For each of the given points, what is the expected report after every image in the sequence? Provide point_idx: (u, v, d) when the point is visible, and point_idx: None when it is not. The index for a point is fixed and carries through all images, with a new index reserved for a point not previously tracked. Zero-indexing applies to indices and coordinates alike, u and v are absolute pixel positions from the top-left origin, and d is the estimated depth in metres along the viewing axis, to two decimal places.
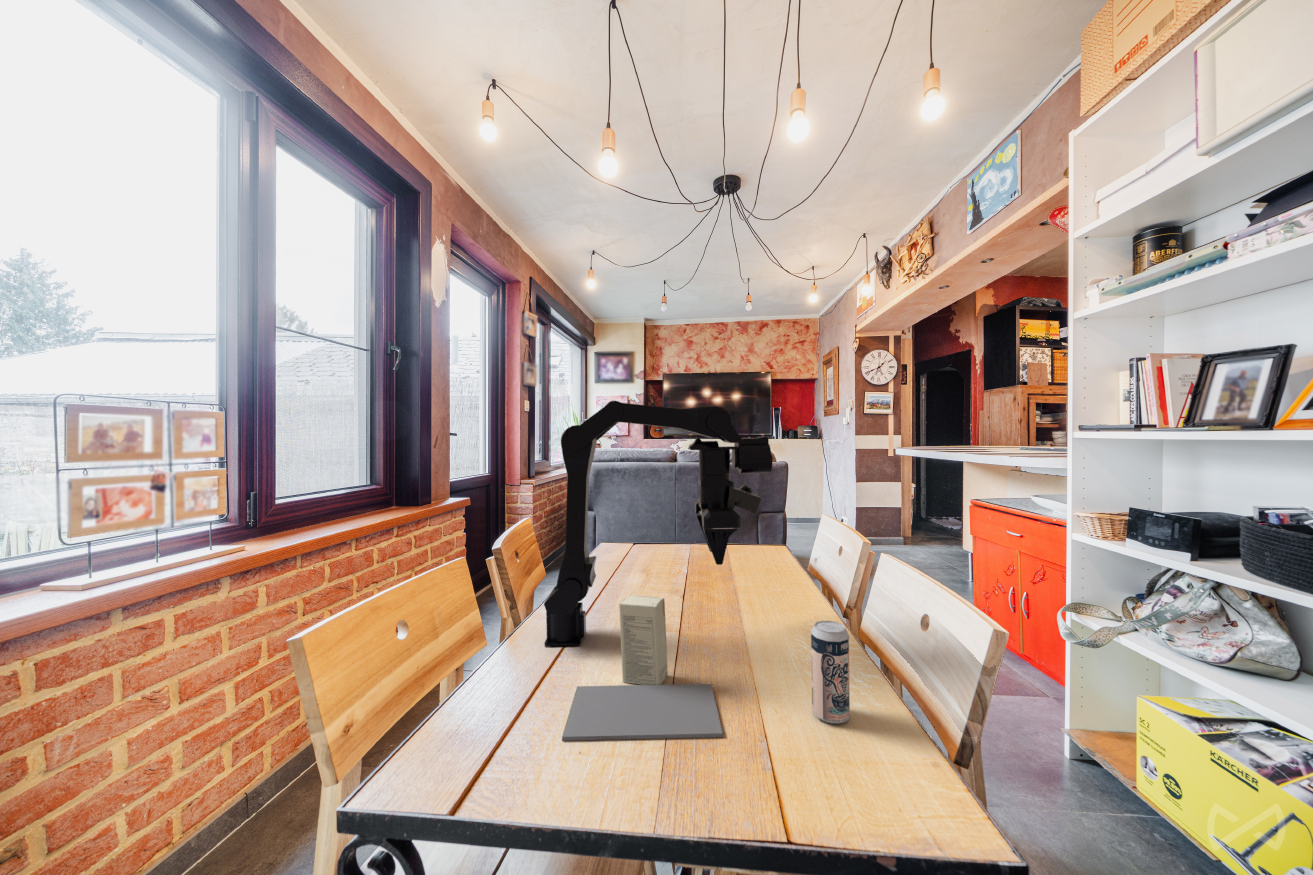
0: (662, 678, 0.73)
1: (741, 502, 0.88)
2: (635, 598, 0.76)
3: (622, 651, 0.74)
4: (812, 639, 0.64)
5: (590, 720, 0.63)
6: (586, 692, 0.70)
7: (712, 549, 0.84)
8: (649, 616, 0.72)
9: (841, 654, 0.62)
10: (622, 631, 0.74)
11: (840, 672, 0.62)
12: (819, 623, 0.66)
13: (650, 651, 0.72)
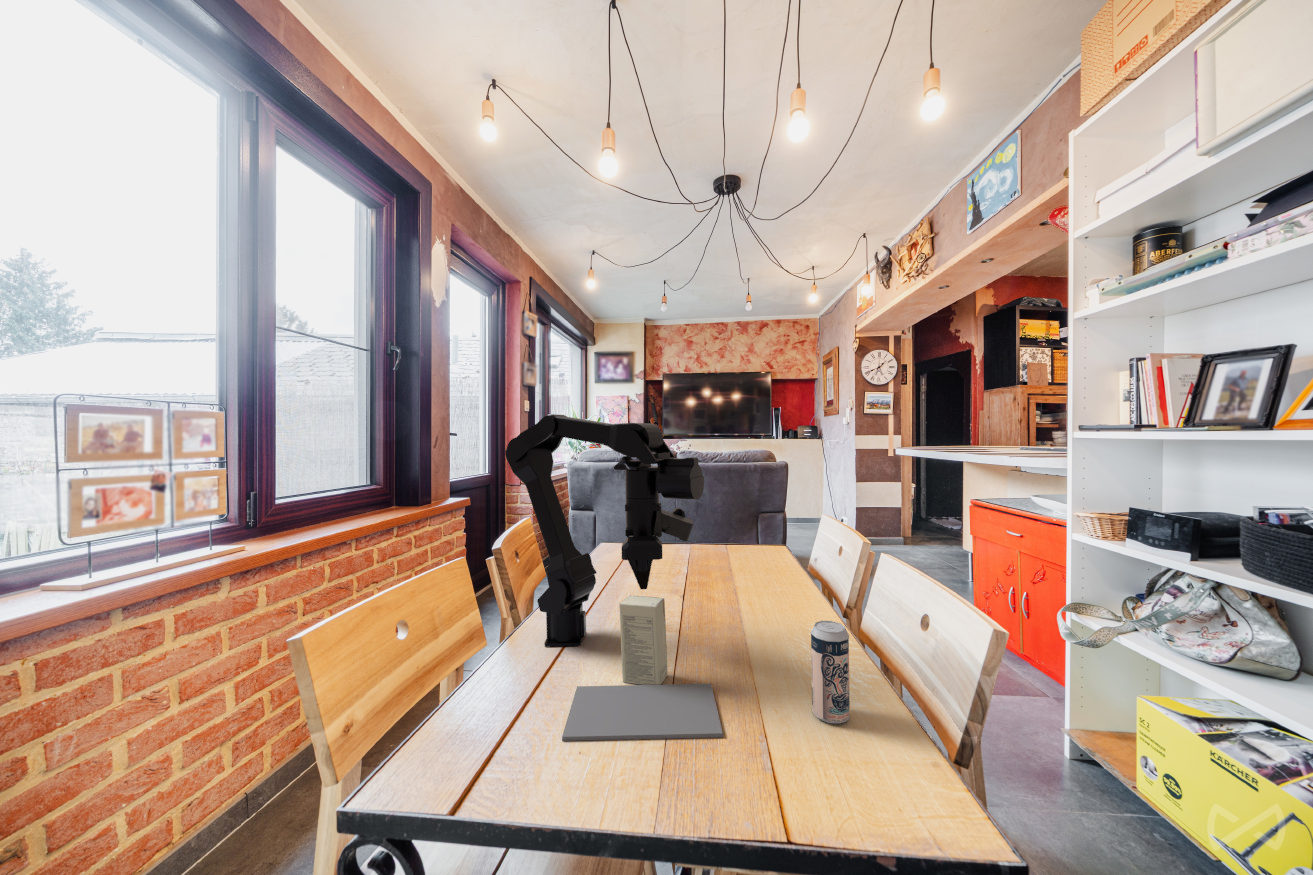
0: (662, 678, 0.73)
1: (669, 528, 0.80)
2: (635, 598, 0.76)
3: (622, 651, 0.74)
4: (812, 639, 0.64)
5: (590, 720, 0.63)
6: (586, 692, 0.70)
7: (635, 573, 0.81)
8: (649, 616, 0.72)
9: (841, 654, 0.62)
10: (622, 631, 0.74)
11: (840, 672, 0.62)
12: (819, 623, 0.66)
13: (650, 651, 0.72)
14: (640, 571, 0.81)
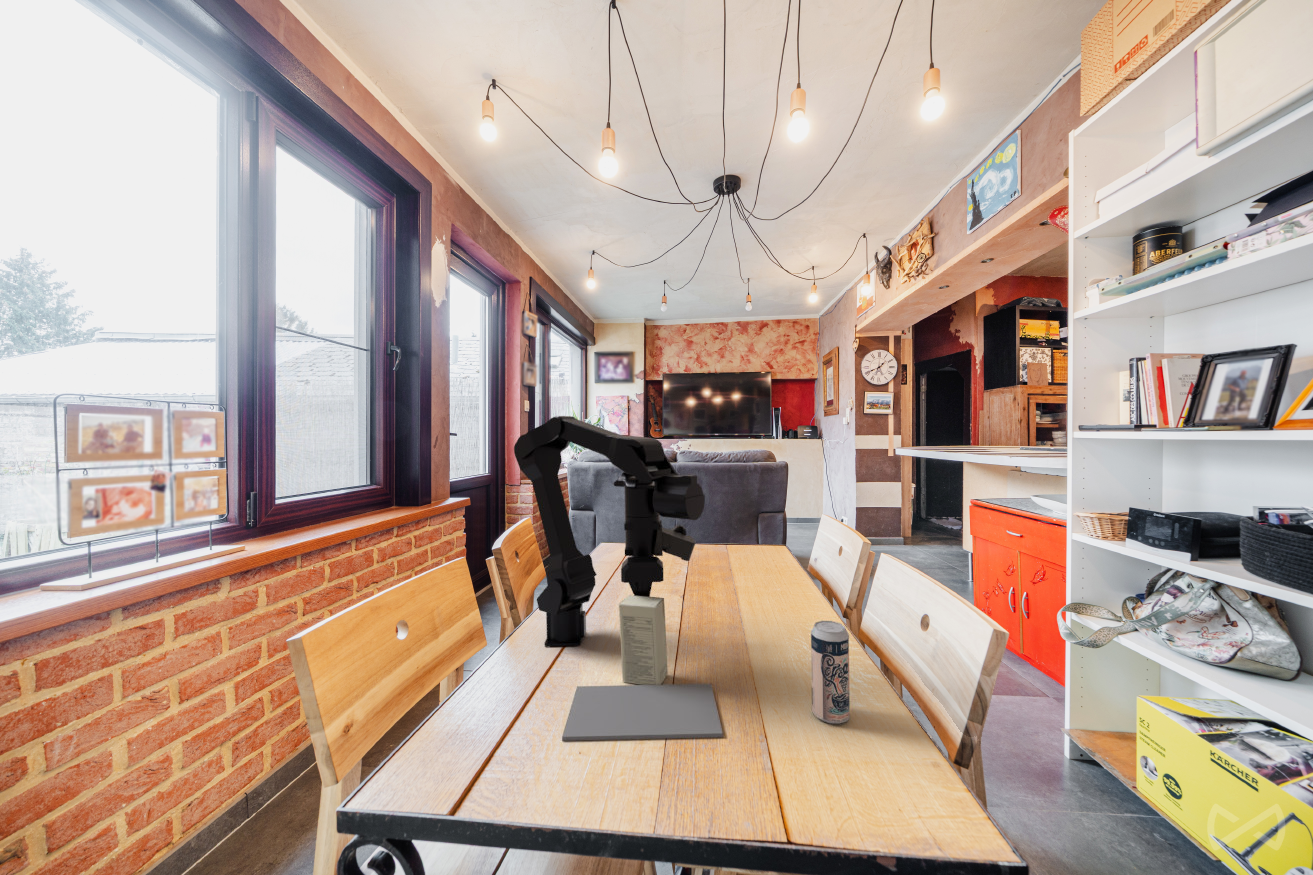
0: (662, 678, 0.73)
1: (670, 548, 0.77)
2: (635, 598, 0.76)
3: (622, 651, 0.74)
4: (812, 639, 0.64)
5: (590, 720, 0.63)
6: (586, 692, 0.70)
7: (635, 594, 0.78)
8: (649, 617, 0.72)
9: (841, 654, 0.62)
10: (622, 631, 0.74)
11: (840, 672, 0.62)
12: (819, 623, 0.66)
13: (650, 651, 0.72)
14: (640, 592, 0.78)
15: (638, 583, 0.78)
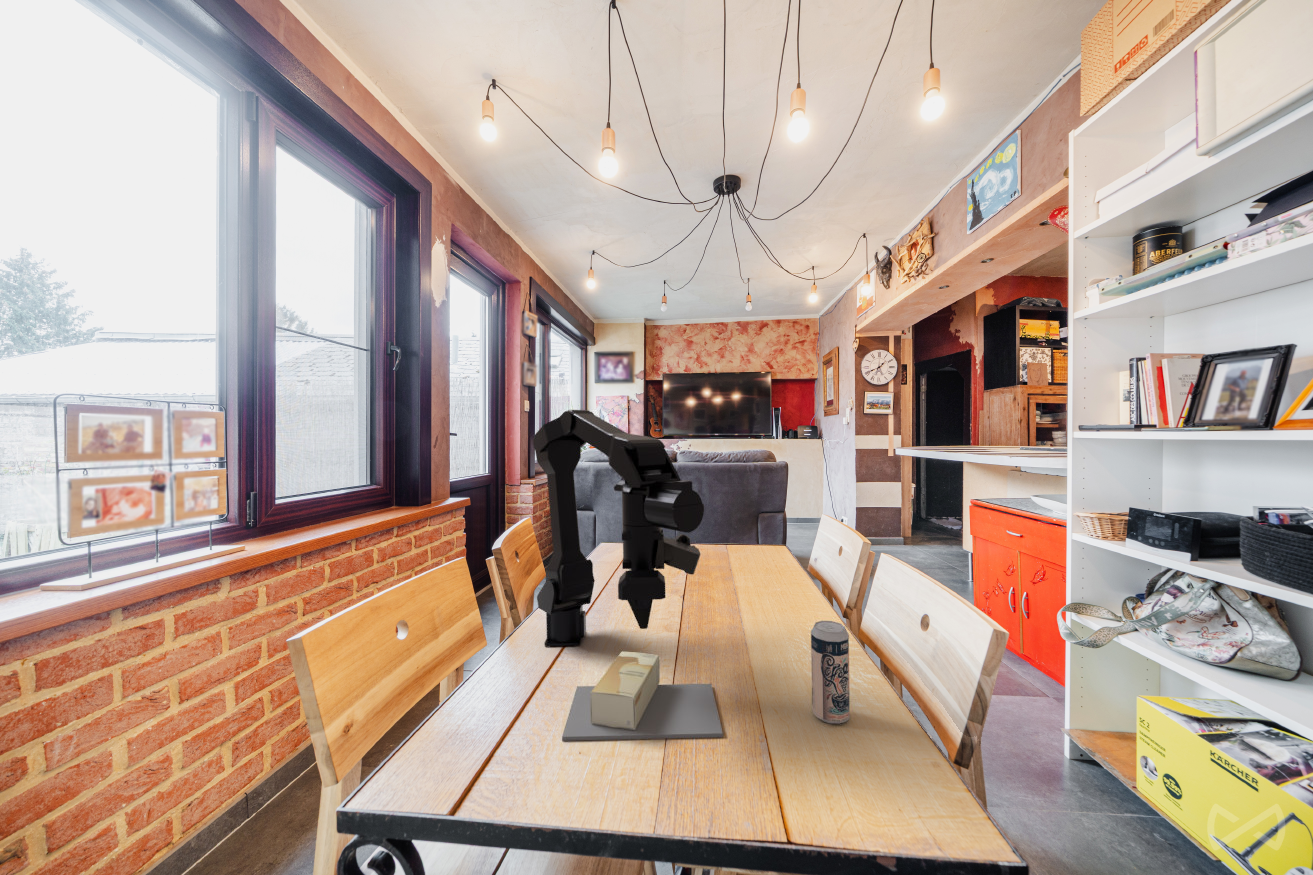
0: (658, 675, 0.72)
1: (673, 560, 0.69)
2: (602, 704, 0.62)
3: None
4: (812, 639, 0.64)
5: None
6: (586, 692, 0.70)
7: (634, 611, 0.71)
8: None
9: (841, 654, 0.62)
10: None
11: (840, 672, 0.62)
12: (819, 623, 0.66)
13: None
14: (639, 608, 0.70)
15: None
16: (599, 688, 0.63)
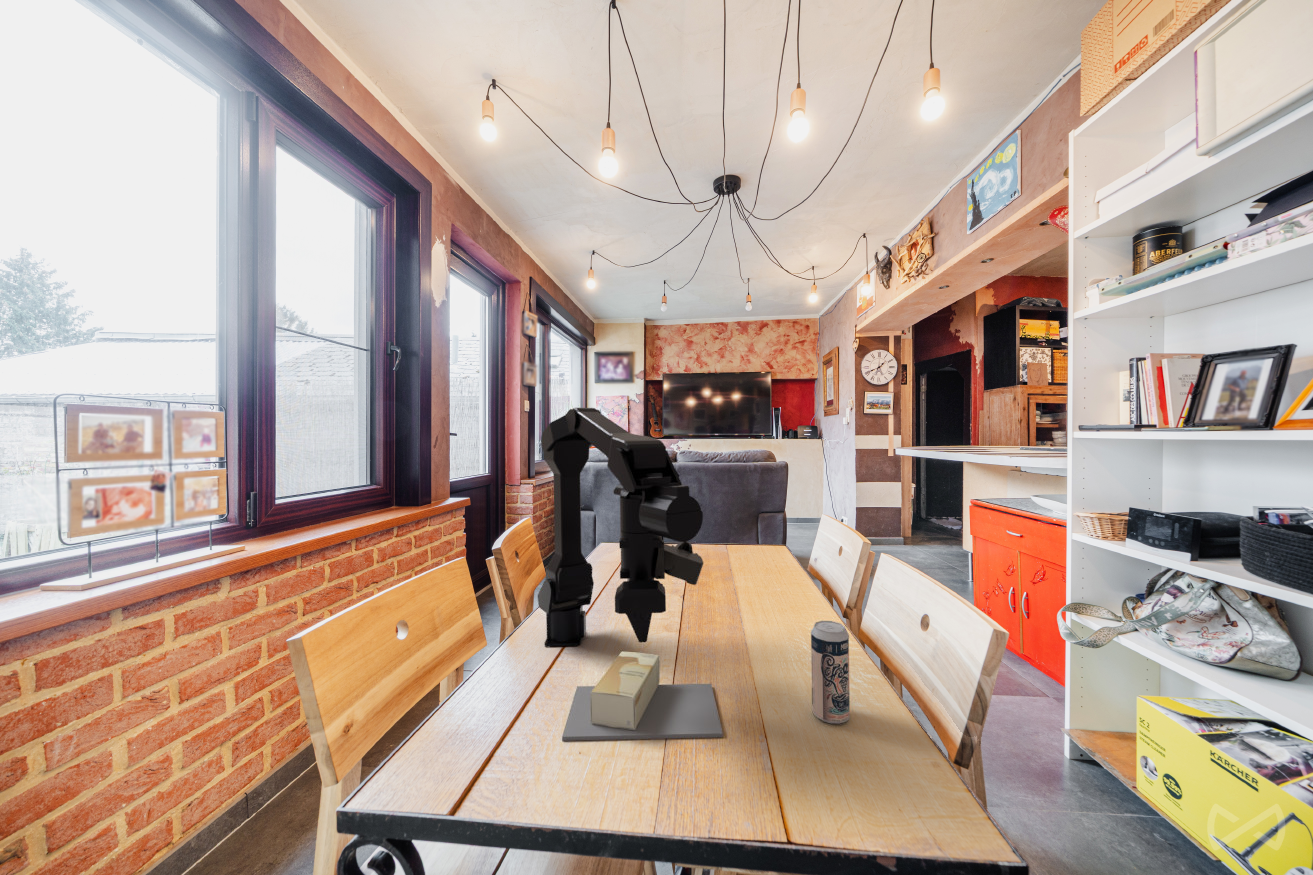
0: (658, 675, 0.72)
1: (674, 569, 0.65)
2: (602, 704, 0.62)
3: None
4: (812, 639, 0.64)
5: None
6: (586, 692, 0.70)
7: (632, 623, 0.66)
8: None
9: (841, 654, 0.62)
10: None
11: (840, 672, 0.62)
12: (819, 623, 0.66)
13: None
14: (638, 621, 0.66)
15: None
16: (599, 688, 0.63)
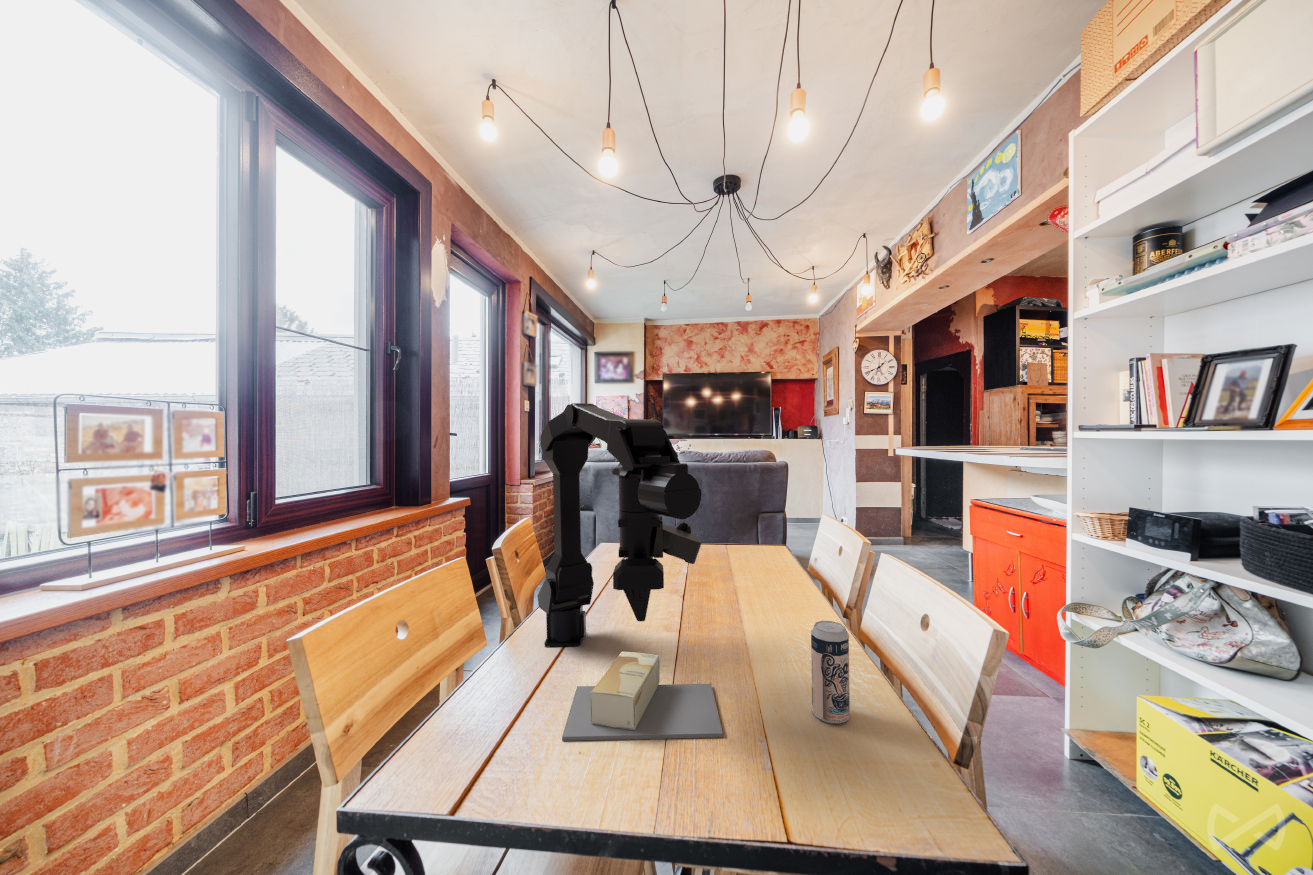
0: (658, 675, 0.72)
1: (672, 548, 0.65)
2: (602, 704, 0.62)
3: None
4: (812, 639, 0.64)
5: None
6: (586, 692, 0.70)
7: (631, 602, 0.66)
8: None
9: (841, 654, 0.62)
10: None
11: (840, 672, 0.62)
12: (819, 623, 0.66)
13: None
14: (637, 600, 0.66)
15: (634, 590, 0.66)
16: (599, 688, 0.63)
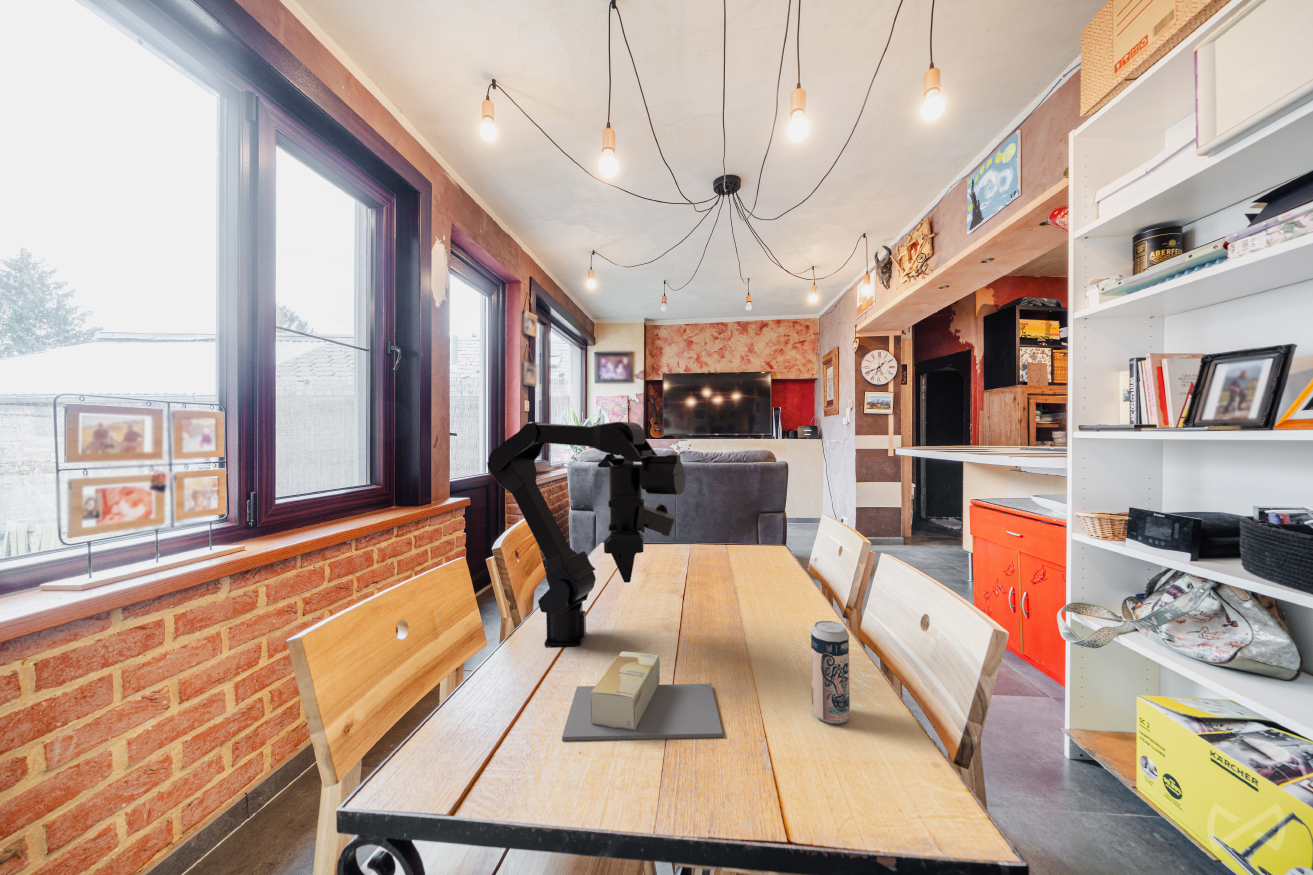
0: (658, 675, 0.72)
1: (651, 523, 0.83)
2: (602, 704, 0.62)
3: None
4: (812, 639, 0.64)
5: None
6: (586, 692, 0.70)
7: (619, 567, 0.84)
8: None
9: (841, 654, 0.62)
10: None
11: (840, 672, 0.62)
12: (819, 623, 0.66)
13: None
14: (623, 565, 0.84)
15: (621, 557, 0.83)
16: (599, 688, 0.63)
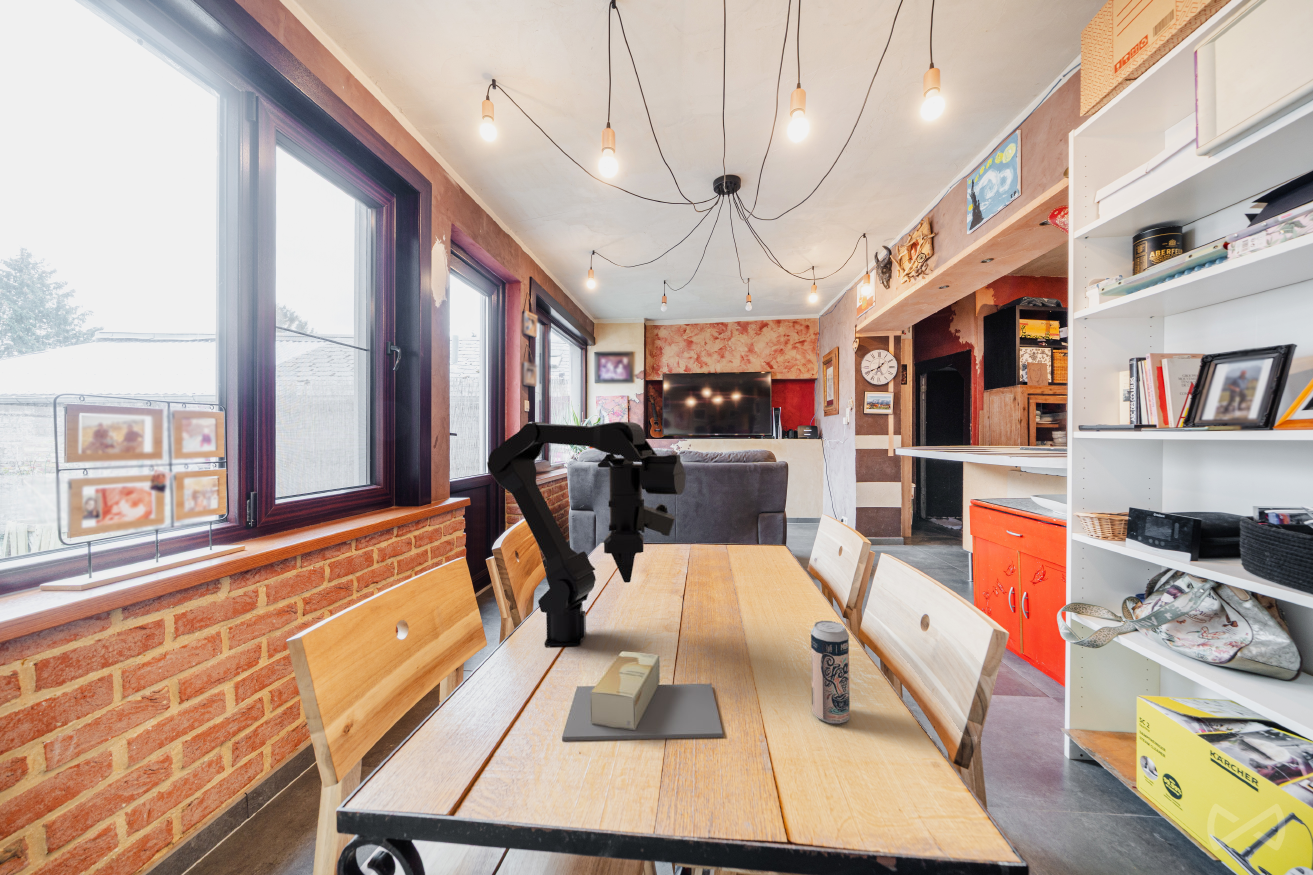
0: (658, 675, 0.72)
1: (651, 523, 0.83)
2: (602, 704, 0.62)
3: None
4: (812, 639, 0.64)
5: None
6: (586, 692, 0.70)
7: (619, 567, 0.84)
8: None
9: (841, 654, 0.62)
10: None
11: (840, 672, 0.62)
12: (819, 623, 0.66)
13: None
14: (623, 565, 0.84)
15: (621, 557, 0.83)
16: (599, 688, 0.63)
